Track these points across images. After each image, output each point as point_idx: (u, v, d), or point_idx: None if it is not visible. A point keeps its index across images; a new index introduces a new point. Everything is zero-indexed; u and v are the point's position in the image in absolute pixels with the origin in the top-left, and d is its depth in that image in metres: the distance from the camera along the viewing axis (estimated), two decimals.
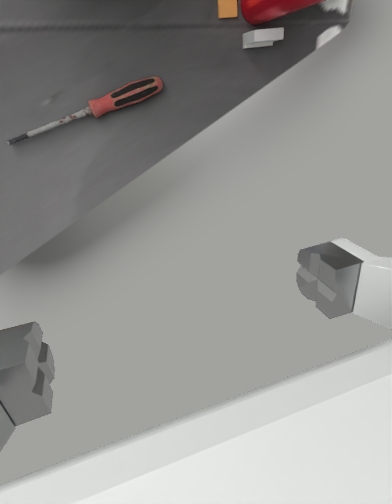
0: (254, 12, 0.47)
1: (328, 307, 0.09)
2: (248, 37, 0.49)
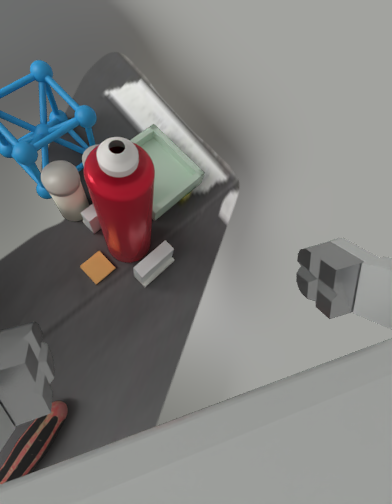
0: (122, 253, 0.36)
1: (327, 307, 0.09)
2: (137, 276, 0.37)
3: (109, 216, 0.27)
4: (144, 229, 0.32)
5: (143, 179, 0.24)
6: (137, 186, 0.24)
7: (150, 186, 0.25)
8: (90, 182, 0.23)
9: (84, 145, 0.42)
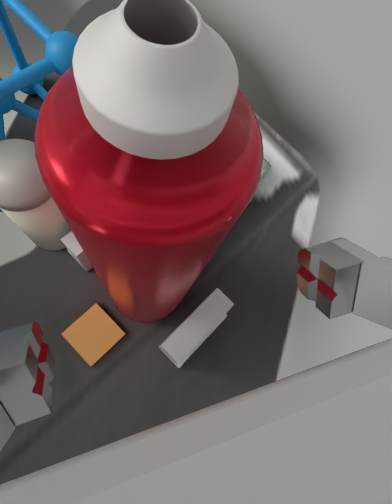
0: (139, 316, 0.19)
1: (328, 307, 0.09)
2: (167, 354, 0.20)
3: (120, 274, 0.10)
4: (192, 283, 0.15)
5: (241, 168, 0.07)
6: (223, 193, 0.07)
7: (254, 192, 0.08)
8: (55, 180, 0.06)
9: None
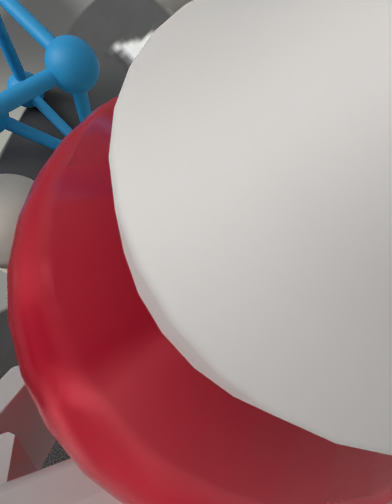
0: None
1: None
2: None
3: None
4: None
5: None
6: None
7: None
8: (51, 411, 0.03)
9: None
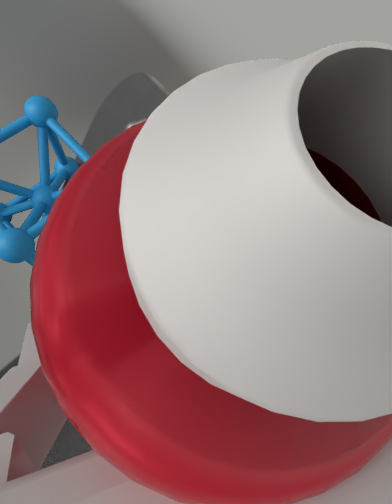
0: None
1: None
2: None
3: None
4: None
5: None
6: None
7: None
8: (68, 399, 0.03)
9: None
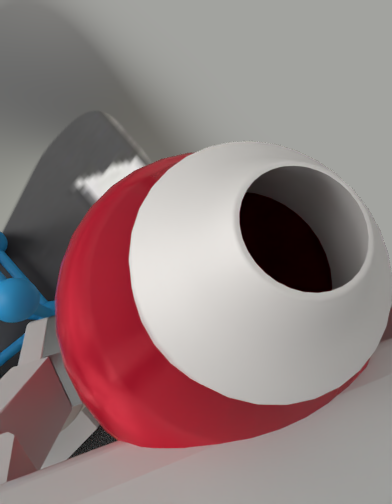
0: None
1: None
2: None
3: None
4: None
5: None
6: None
7: None
8: (86, 389, 0.04)
9: None
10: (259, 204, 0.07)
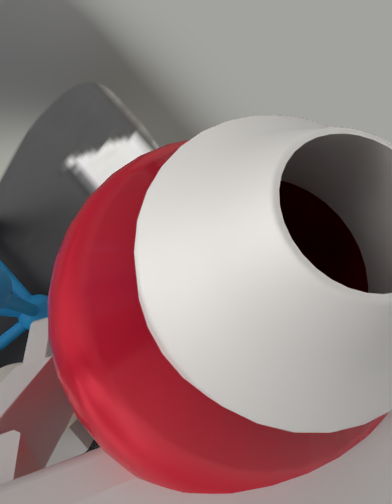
0: None
1: None
2: None
3: None
4: None
5: None
6: (369, 423, 0.04)
7: None
8: (82, 404, 0.04)
9: (15, 289, 0.20)
10: None
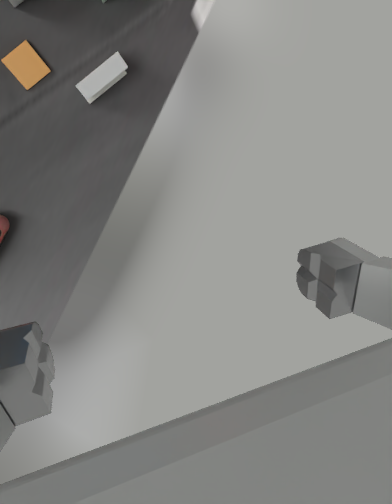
0: None
1: (328, 307, 0.09)
2: None
3: None
4: None
5: None
6: None
7: None
8: None
9: None
10: None
